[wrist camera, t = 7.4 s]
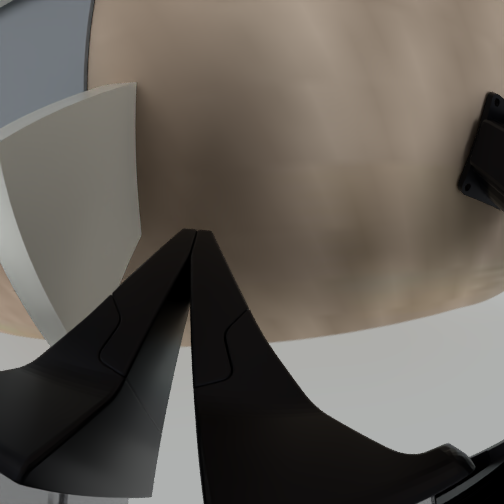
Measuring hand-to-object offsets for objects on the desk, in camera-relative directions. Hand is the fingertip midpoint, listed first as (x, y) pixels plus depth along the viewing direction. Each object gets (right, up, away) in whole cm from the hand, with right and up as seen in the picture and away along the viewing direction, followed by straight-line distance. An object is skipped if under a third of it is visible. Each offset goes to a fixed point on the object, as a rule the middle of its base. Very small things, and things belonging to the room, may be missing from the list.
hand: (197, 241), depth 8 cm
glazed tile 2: (-5, +4, +3) cm, 7 cm away
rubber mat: (-9, +10, -2) cm, 14 cm away
